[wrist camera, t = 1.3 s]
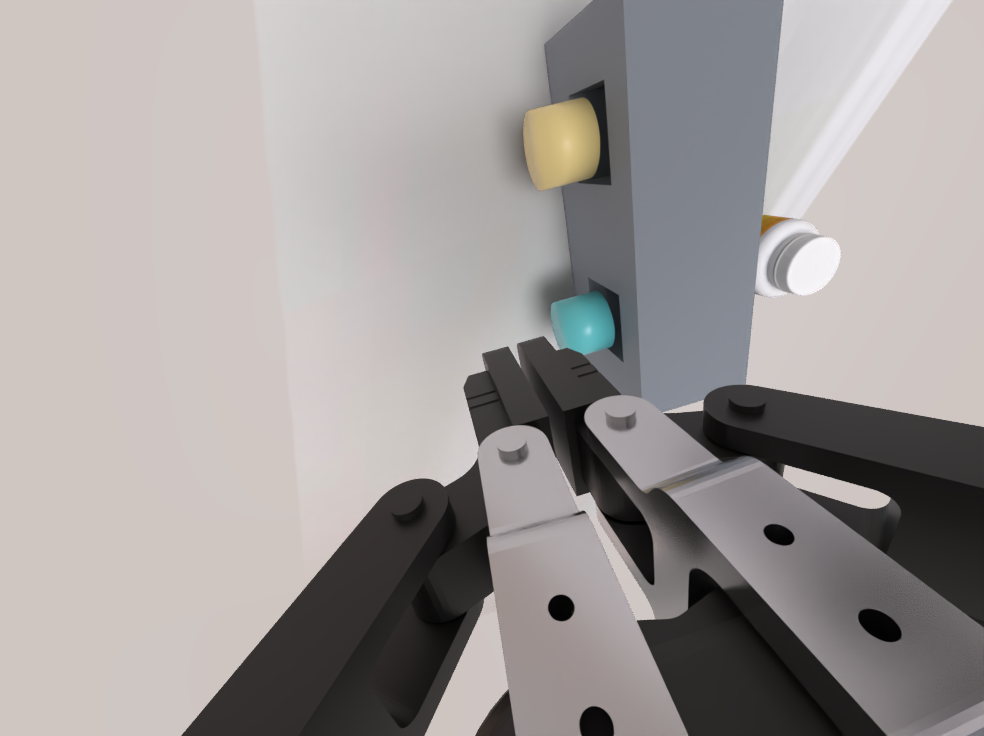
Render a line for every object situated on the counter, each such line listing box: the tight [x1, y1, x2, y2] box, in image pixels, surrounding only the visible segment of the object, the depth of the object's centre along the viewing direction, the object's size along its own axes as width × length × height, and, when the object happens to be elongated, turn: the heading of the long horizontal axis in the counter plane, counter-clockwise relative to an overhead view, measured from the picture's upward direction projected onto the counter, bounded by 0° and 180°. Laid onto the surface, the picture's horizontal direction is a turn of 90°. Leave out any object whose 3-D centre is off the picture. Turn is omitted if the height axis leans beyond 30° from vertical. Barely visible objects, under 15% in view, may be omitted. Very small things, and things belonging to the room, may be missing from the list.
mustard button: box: [523, 97, 600, 191], centre depth 24 cm, size 3×4×4 cm
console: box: [544, 0, 784, 412], centre depth 28 cm, size 8×24×11 cm, turn 12°
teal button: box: [551, 291, 615, 355], centre depth 30 cm, size 3×4×4 cm
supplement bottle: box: [755, 215, 841, 297], centre depth 31 cm, size 6×6×10 cm
